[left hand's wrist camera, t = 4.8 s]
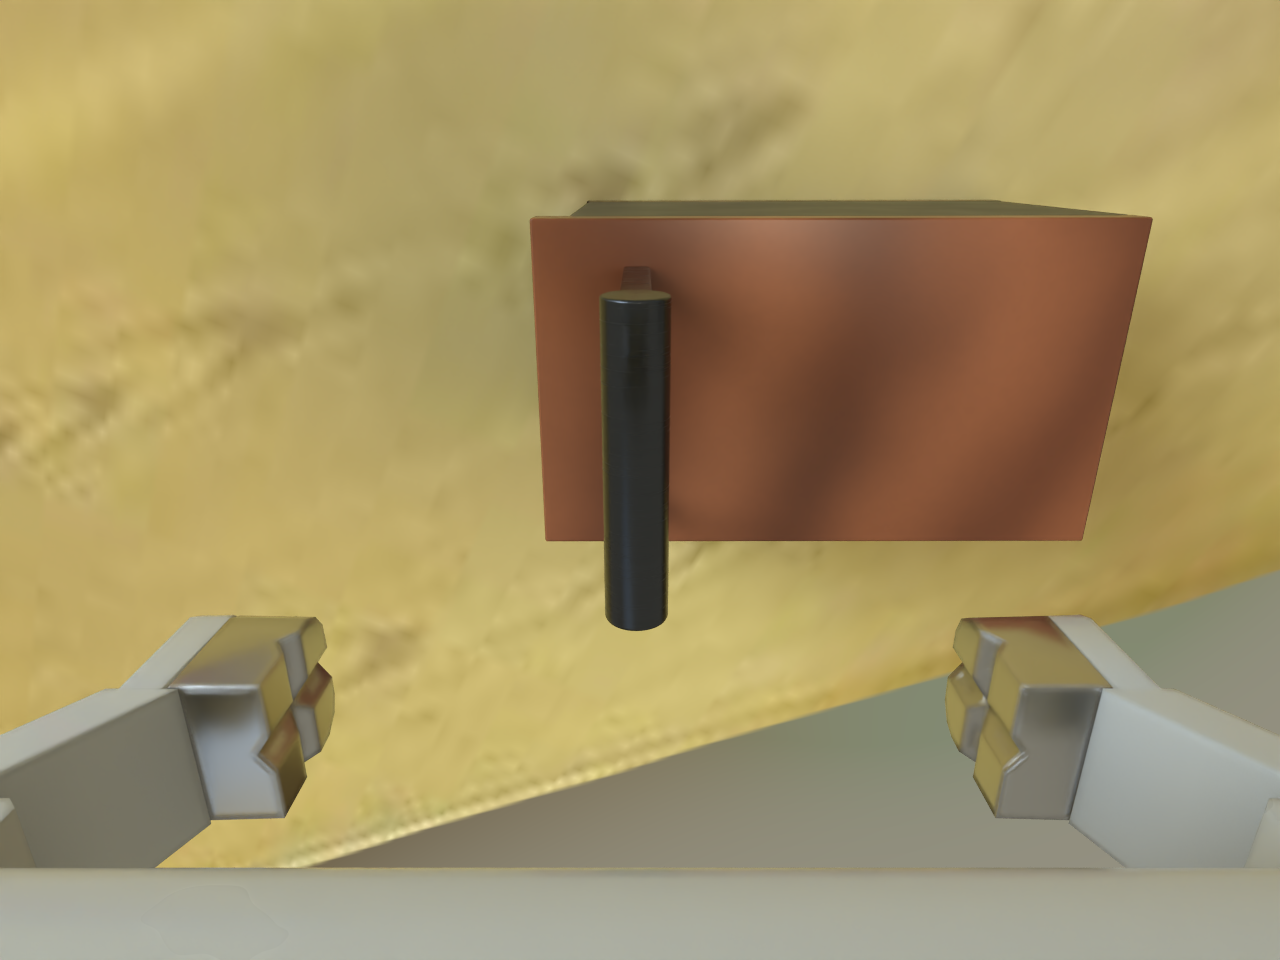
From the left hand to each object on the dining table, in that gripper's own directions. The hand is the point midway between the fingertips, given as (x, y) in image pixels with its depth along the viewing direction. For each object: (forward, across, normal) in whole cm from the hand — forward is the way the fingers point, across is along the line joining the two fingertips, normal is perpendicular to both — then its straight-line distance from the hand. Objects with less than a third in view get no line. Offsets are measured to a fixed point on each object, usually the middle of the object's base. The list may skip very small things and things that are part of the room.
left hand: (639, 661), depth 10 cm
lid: (+14, +5, 0) cm, 15 cm away
